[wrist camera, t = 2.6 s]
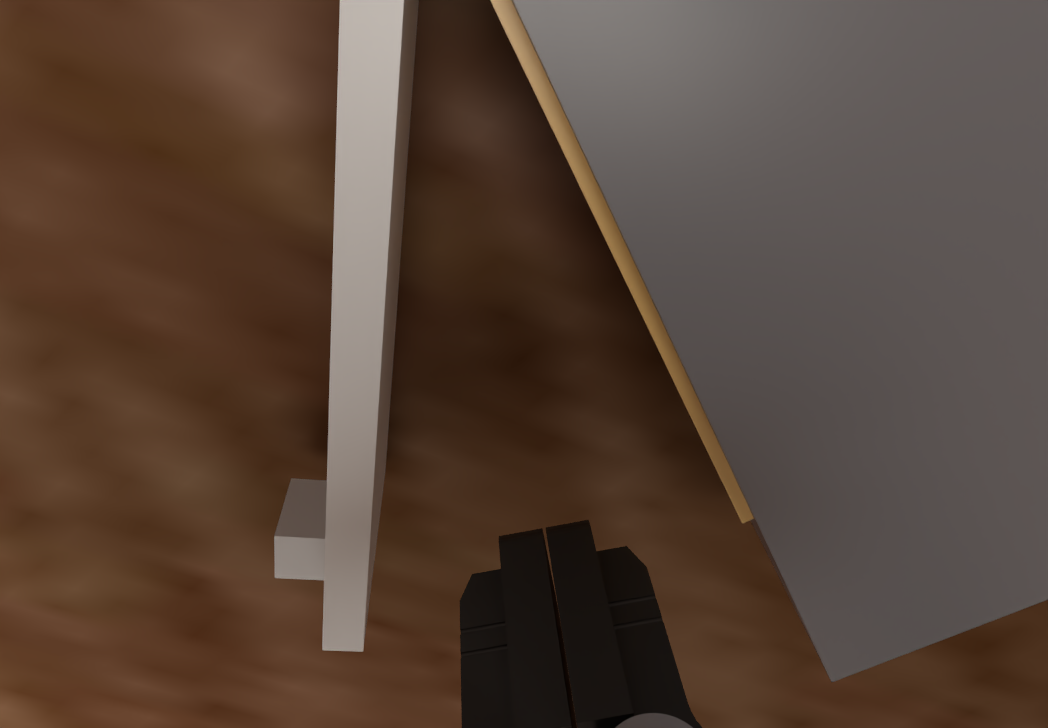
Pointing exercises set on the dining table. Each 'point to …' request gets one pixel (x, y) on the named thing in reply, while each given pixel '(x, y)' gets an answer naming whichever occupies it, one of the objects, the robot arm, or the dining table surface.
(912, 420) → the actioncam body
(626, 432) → the dining table surface
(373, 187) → the side door
